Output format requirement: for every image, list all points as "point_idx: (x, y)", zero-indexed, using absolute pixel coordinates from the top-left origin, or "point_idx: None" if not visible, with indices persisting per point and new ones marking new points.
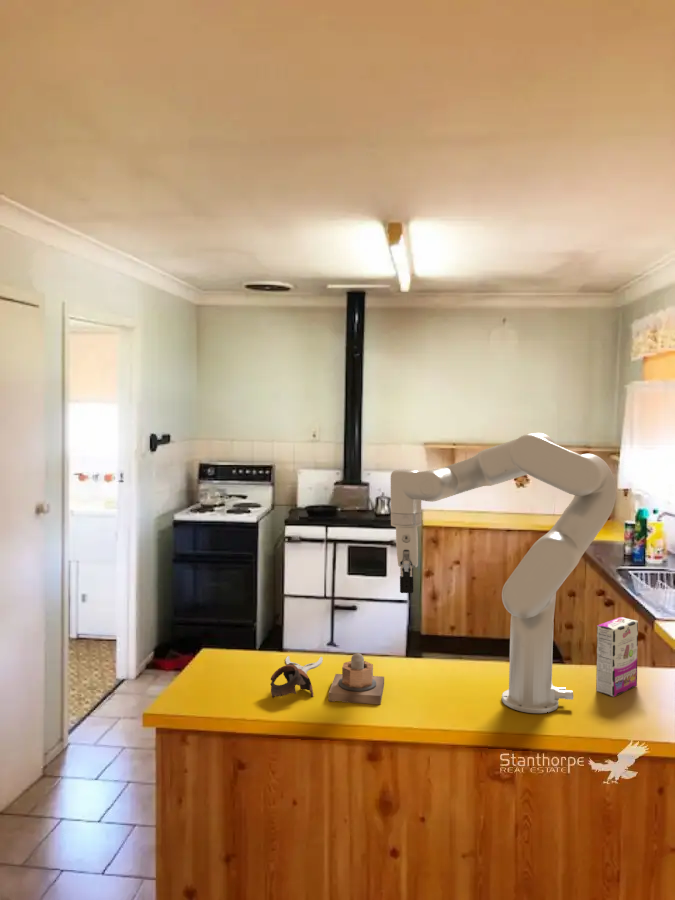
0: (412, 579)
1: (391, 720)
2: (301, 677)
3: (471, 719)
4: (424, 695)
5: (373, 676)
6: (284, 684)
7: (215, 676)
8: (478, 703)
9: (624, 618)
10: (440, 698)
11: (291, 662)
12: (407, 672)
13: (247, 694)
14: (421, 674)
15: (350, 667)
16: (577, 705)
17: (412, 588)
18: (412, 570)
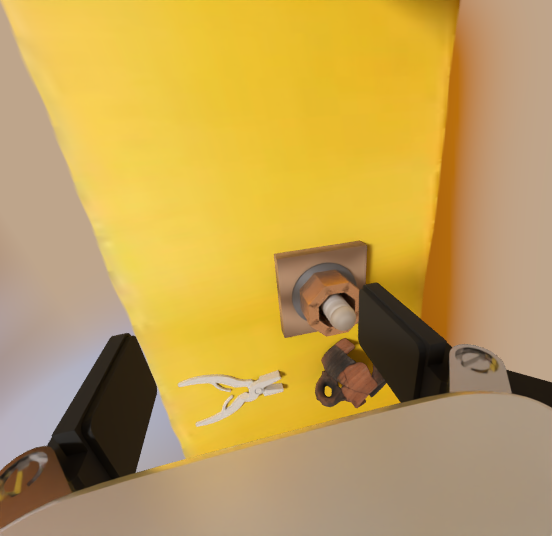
0: (428, 331)
1: (415, 211)
2: (376, 370)
3: (407, 58)
4: (308, 169)
5: (281, 277)
6: None
7: None
8: (329, 37)
9: None
10: (317, 133)
11: (223, 411)
12: (193, 223)
13: (348, 405)
14: (194, 191)
15: (323, 320)
16: None
17: (388, 296)
18: (96, 412)
